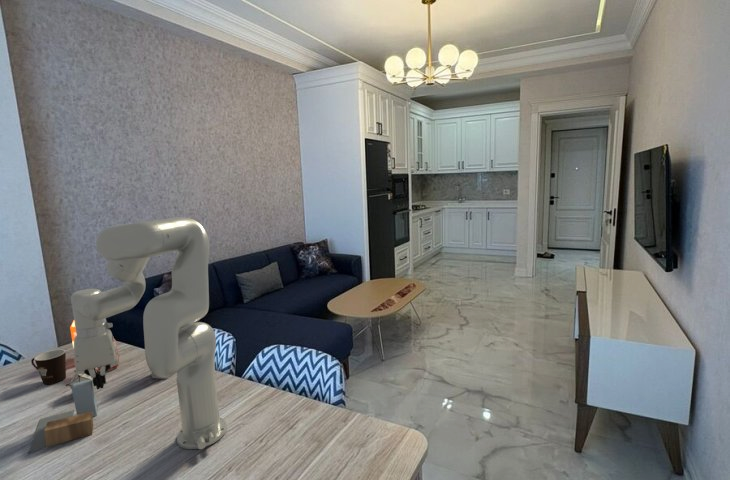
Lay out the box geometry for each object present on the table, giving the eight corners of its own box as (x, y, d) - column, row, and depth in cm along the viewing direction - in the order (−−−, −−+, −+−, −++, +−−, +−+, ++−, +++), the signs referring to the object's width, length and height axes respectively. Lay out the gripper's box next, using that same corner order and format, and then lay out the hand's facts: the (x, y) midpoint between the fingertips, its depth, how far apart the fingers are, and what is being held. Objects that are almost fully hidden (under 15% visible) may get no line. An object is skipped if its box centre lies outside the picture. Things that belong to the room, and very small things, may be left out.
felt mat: (66, 441, 103) (66, 440, 103) (27, 453, 99) (27, 452, 99) (74, 410, 117) (73, 409, 117) (40, 419, 113) (40, 419, 113)
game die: (87, 405, 127) (77, 392, 120) (67, 394, 128) (55, 381, 121) (109, 381, 133) (100, 368, 126) (89, 372, 134) (79, 358, 127)
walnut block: (90, 419, 105) (44, 431, 100) (92, 434, 106) (46, 446, 100) (92, 411, 109) (47, 422, 104) (93, 425, 109) (49, 437, 104)
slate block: (96, 415, 114) (90, 385, 113) (78, 421, 112) (71, 390, 110) (97, 408, 118) (91, 378, 116) (80, 413, 116) (73, 383, 114)
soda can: (111, 373, 141) (107, 342, 139) (93, 373, 141) (88, 343, 139) (124, 363, 148) (119, 334, 146) (106, 364, 148) (101, 335, 146)
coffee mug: (73, 378, 138) (69, 352, 136) (44, 389, 130) (39, 362, 129) (60, 370, 144) (56, 345, 142) (32, 380, 137) (27, 355, 135)
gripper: (121, 321, 120) (129, 374, 123) (62, 332, 113) (71, 388, 115) (121, 328, 114) (128, 385, 117) (58, 340, 106) (68, 400, 109)
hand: (100, 386), depth 116 cm, fingers closed
